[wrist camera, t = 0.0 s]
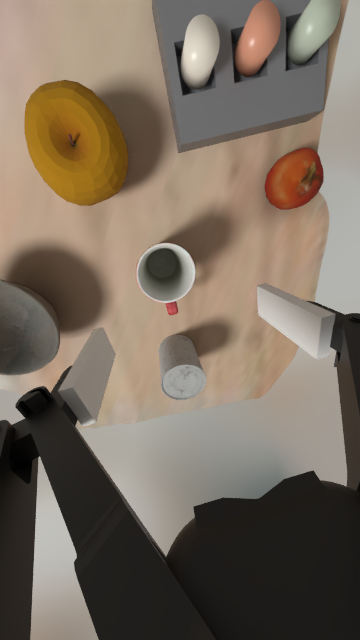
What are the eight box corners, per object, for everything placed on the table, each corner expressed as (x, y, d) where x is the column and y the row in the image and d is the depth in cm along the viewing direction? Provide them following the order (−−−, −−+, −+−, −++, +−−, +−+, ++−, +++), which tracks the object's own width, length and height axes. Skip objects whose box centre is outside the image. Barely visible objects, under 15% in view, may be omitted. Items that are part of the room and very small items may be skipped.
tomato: (250, 182, 37) (274, 170, 30) (290, 144, 35) (326, 122, 28) (271, 223, 41) (297, 221, 33) (308, 191, 39) (344, 181, 32)
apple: (146, 171, 34) (145, 144, 24) (99, 225, 36) (79, 223, 26) (84, 92, 29) (47, 13, 18) (34, 161, 31) (-23, 126, 21)
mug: (136, 242, 38) (129, 247, 26) (180, 236, 39) (193, 238, 27) (147, 301, 44) (146, 327, 32) (186, 295, 44) (199, 318, 32)
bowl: (-46, 292, 37) (-108, 310, 28) (36, 249, 36) (-2, 255, 27) (25, 359, 46) (-5, 390, 37) (94, 326, 45) (80, 350, 36)
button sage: (287, 22, 27) (308, -11, 23) (317, 15, 27) (342, -18, 23) (286, 68, 28) (306, 44, 25) (314, 61, 29) (337, 37, 25)
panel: (152, 8, 26) (152, -22, 23) (314, -28, 27) (336, -62, 24) (178, 153, 33) (181, 144, 30) (307, 121, 34) (323, 109, 31)
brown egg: (232, 35, 26) (245, 4, 23) (262, 28, 26) (280, -4, 23) (235, 80, 28) (248, 58, 25) (263, 73, 28) (280, 50, 25)
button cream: (177, 48, 26) (181, 18, 22) (207, 41, 26) (217, 10, 23) (184, 92, 28) (189, 72, 24) (212, 85, 28) (221, 64, 25)
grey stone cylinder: (201, 350, 52) (214, 382, 41) (174, 370, 53) (180, 406, 42) (179, 327, 48) (187, 356, 37) (151, 350, 49) (151, 383, 38)
